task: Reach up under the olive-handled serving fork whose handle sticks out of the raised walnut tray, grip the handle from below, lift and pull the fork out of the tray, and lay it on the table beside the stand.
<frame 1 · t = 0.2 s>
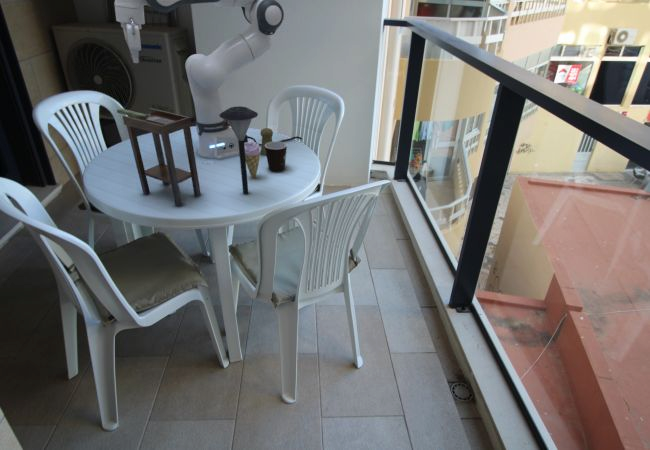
hand: (134, 60, 140), 39 cm above the table, tool pointing down, fingers open, 8 cm apart
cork: (267, 153, 172), on the table
coffee mug: (279, 168, 159), on the table
stand: (172, 194, 137), on the table
solar garden light: (245, 193, 140), on the table
fork: (144, 118, 126), point 26 cm above the table, touching stand
ice cream cone: (252, 178, 151), on the table
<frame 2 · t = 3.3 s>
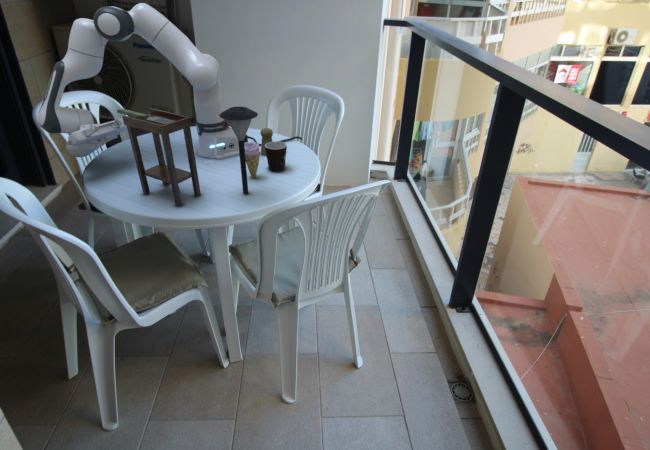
hand: (107, 124, 137), 20 cm above the table, tool pointing upward, fingers open, 8 cm apart
nothing on the table moved.
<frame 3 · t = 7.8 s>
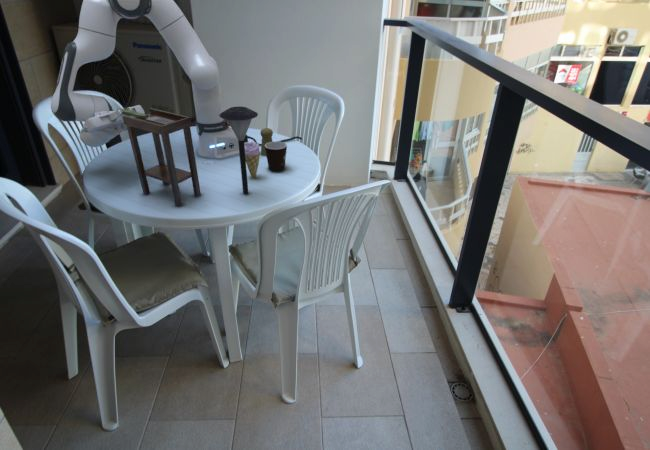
hand: (125, 110, 129), 27 cm above the table, tool pointing upward, fingers closed on fork
fork: (144, 118, 126), point 26 cm above the table, touching gripper, stand
everything else where it was.
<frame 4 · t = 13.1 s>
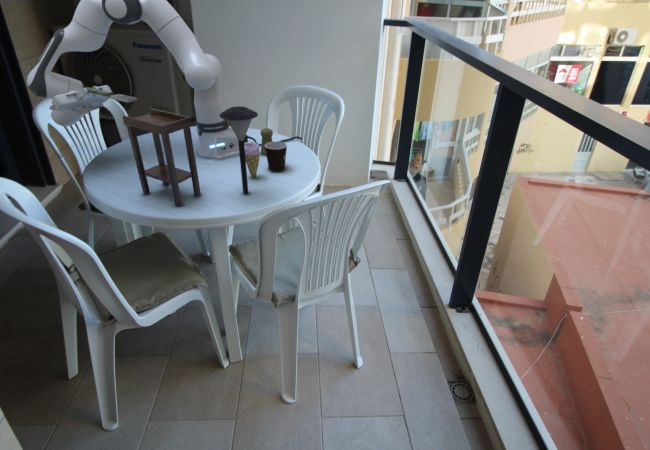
hand: (91, 89, 136), 31 cm above the table, tool pointing upward, fingers closed on fork
fork: (108, 96, 133), point 30 cm above the table, touching gripper
everything else where it was.
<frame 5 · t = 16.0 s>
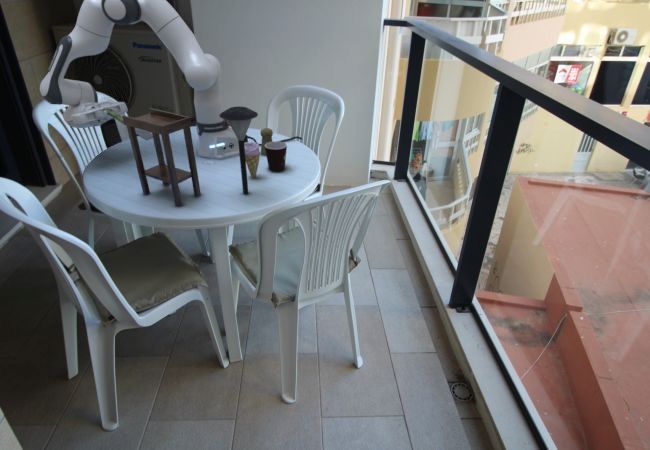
hand: (110, 111, 144), 22 cm above the table, tool horizontal, fingers closed on fork
fork: (127, 124, 142), point 19 cm above the table, tilted 15°, touching gripper
everything else where it was.
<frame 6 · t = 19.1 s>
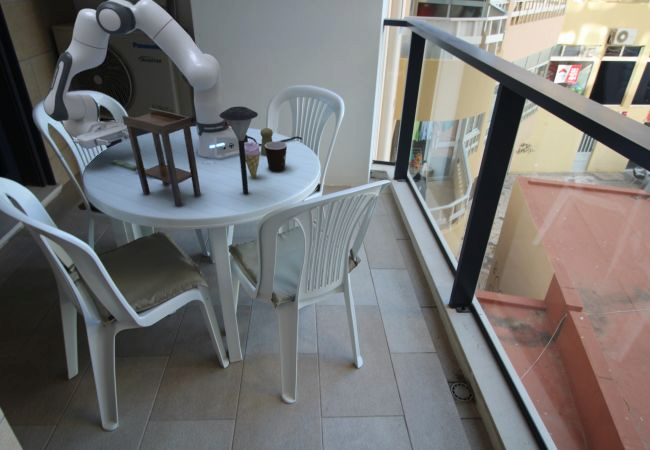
hand: (118, 139, 150), 11 cm above the table, tool horizontal, fingers open, 7 cm apart
fork: (134, 169, 154), on the table
everything else where it was.
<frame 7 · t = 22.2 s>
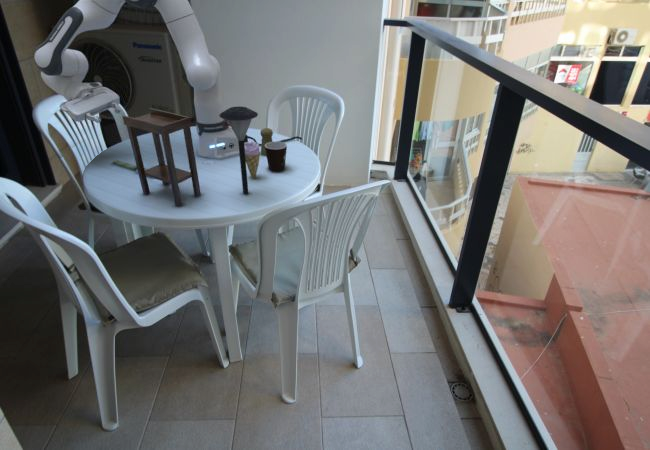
hand: (109, 116, 150), 19 cm above the table, tool tilted 65°, fingers open, 8 cm apart
nothing on the table moved.
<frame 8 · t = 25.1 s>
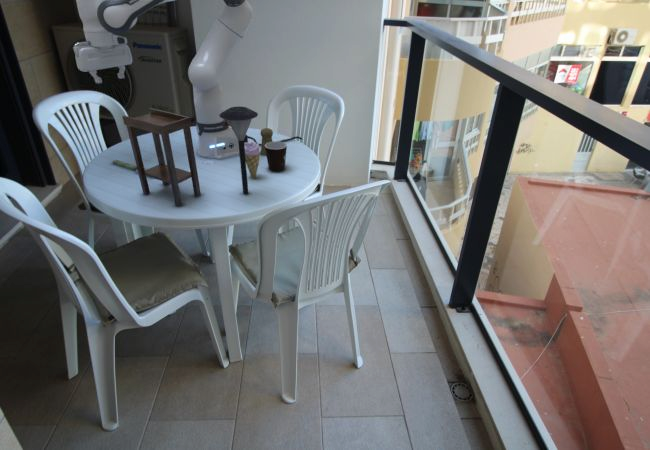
hand: (110, 80, 147), 31 cm above the table, tool pointing down, fingers open, 8 cm apart
nothing on the table moved.
at the end: fork on the table; fork inside the target area (0.6 cm from its centre), on the table; the gripper is holding nothing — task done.
